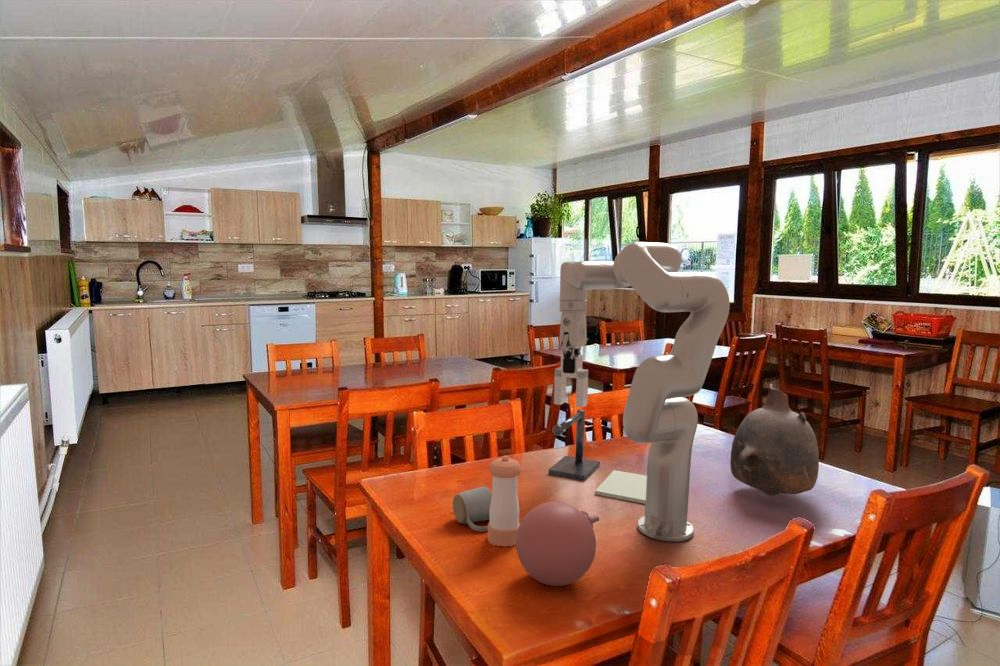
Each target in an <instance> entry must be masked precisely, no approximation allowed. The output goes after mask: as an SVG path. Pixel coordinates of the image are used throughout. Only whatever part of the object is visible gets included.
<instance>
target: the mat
mask: <svg viewBox="0 0 1000 666" xmlns="http://www.w3.org/2000/svg"><path fill="white" fill-rule="evenodd" d="M646 480H647V475H644V474H638V473H634V472H626V471H622V470H615V469H614V470H613V471H611V473H610V474H609V475H608V476H607V477H606V478H605V479H604V481H602V483H601V484H600V485H599V486H598V487H597V489H596V490H594V493H595V494H594V495H598V496H600V497H601V496H602V497H607V498H613V499H617V500H622V499H623V500H622V501H627V500H628V502H633V503H637V504H643V505H645V501H646Z"/></svg>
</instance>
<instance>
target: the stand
mask: <svg viewBox="0 0 1000 666" xmlns="http://www.w3.org/2000/svg"><path fill="white" fill-rule="evenodd" d="M585 415H586V410H585V409H577V410H576V413H575V414H573V415H572V416H570V417H568V418H567V419H566V420H564V421H562V422H561V423H560V424H555V425H553V427H552V433H553V434H554V436H557V437H559V436H562V435H563V434H564V431H565V430H567V429H569V428H570V427H571V426H572V425H574V424H576V425H575V426H576V427H575V429H576V431H575V453H574V454H575V455H574V456H569V455H564V456H563V457H562V458H560V460H559V461H557V462H556V463H555V464H553V465H552V466H551V467H549V469H548V476H549V475H550V476H556V477H561V478H566V479H571V480H577V481H581V482H586V480H588V479H589V477H590V476H592V474H593V473H595V472H596V471H597V470H598V468H600V467H601V462H600V461H599V460H593V459H587V458H584V448H585V446H584V445H585V424H586V423H585V420H586V419H585V418H586V416H585Z"/></svg>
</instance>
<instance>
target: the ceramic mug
mask: <svg viewBox="0 0 1000 666" xmlns="http://www.w3.org/2000/svg"><path fill="white" fill-rule="evenodd" d="M491 498H492V492H491V490H490V489H489V488H488V487H487V486H479V487H476V488H472V489H469V490H465V491H462V492H459V493H456V494H455V495H454V497H453V499H452V509H453V514H454V518H455V520H456V521H457V522H458V523H460V524H462V525H464V524H465V525H468V526H469V527H470V529H472V530H474V531H475V532H479V531H480V532H481V531H483V532H487V531H488V525H485V526H479V525H477V524H476V525H475V524H474V523H478V522H483V521H488V520H489V521H490V515H489V509H490V504H491ZM486 530H487V531H486ZM481 533H482V532H481Z"/></svg>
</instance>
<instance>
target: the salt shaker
mask: <svg viewBox="0 0 1000 666" xmlns="http://www.w3.org/2000/svg"><path fill="white" fill-rule="evenodd" d="M488 470H489V473H490V475H492V485H491V486H492V489H491V490H492V492H491V494H492V498H491V504H490V509H489V515H490V519H489V522H488V524H487V526H488V530H487V541H489V542H488V543H489V544H490V545H492V544H493V546H495V545H497V546H496V547H499V546H510V547H513V546H512V545H514V546H516V545H515V544H516V537H517V532H518V528H519V526H520V524H521V522H520V503H519V497H518V476H519V475H520V474H521V471H522V466H521V464H520V463H519V461H518V460H516V459H513V458H511V457H509V456H508V455H503V456H502V457H498V458H496V459H493V460H492V461H491V462H490V464H489V469H488Z"/></svg>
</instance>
